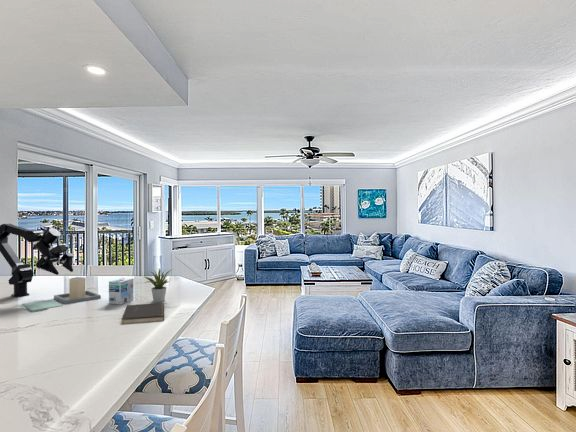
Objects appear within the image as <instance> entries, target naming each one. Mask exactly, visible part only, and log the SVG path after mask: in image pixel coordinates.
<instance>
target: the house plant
mask: <svg viewBox="0 0 576 432" xmlns="http://www.w3.org/2000/svg"><path fill="white" fill-rule="evenodd" d="M173 270H174V269H170V270H169V269H168V271H167V269H165V270H164V271H162V270H161V268H158V273H157V271H156V270H153V269H152V271H153V272H152V271H150V270H148V272H149V273H150V274H152V277H153V278H151V277H148V276H144V278H145V279H146V280H147V281H146V283H151V284H152V285H153V286H154V287H151V294H152V295H151V296H152V300H153V302H154V303H161V302H164V301H165V299H166V294H167V293H166V292H167V287H166V286H164V285H165V284H167V283H169V281H168V279H167V277H168V275H169V274H170V273H171V271H173ZM166 271H167V272H166ZM148 272H147V271H146V272H145V273H147V274H149V273H148ZM165 272H166V273H165ZM150 274H149V275H150ZM160 301H161V302H160Z"/></svg>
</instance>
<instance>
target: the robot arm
mask: <svg viewBox="0 0 576 432" xmlns="http://www.w3.org/2000/svg"><path fill="white" fill-rule="evenodd" d="M11 234H12V235H15V236H18V237H21V238H23V239H24V240H25V241H26V242H29V243H34V244H32V245H33V246H32V250H33V251H35V250H38V252H39V253H40V254H41V255H40V258H39V259H38V260H37V262H36V263H35V266H36V268H37V269H40V270H43V271H46V272H49V273H51V274H54V275H56V276H57V275H59V271H58V269H57V268H56V267H55V265H54V263H59V264H61V266H62V267H64V268H65V269H66V270H68V271H69V272H71V273H72V272H74V267H73V265H72V259H73V258H74V254H73V253H71V252H68V253H65V252H67V251H68V249H69V246H68V245H67V243H62V244H59V245H56V246H54V247H53V245H52V244H55V242H57V240H58V239H59V238H60V236H61V235H62V234H61V232H60V230H59V229H56V228H53V227H52V226H48V227H47V228H46V230H45V231H43V230H39V229H28V228H25V227H21V226H19V225H18V226H17V225H14V224H13V223H2V224H0V254H1V256H3V258H4V260H5V261H6V262H7V264H8V265H9V266H10V268H11V277H10V278H9V279H8V284H9V285H12V286H13V293H12V294H11V296H13V298H16V297H24V296H29V295H30V293H28V283H32V281H33V277H34V271H33V268H32V267H31V266H30V263H23V262H22V261H21V259H20V258H19V256H18V255H17V254H16V253H15V251H14V249H13V248H12V247H11V245H10V244H9V242H8V239H9V236H10V235H11Z"/></svg>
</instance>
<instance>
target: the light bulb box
mask: <svg viewBox="0 0 576 432" xmlns="http://www.w3.org/2000/svg"><path fill="white" fill-rule="evenodd" d="M134 280H135V279H134V278H130V277H121V278H117V279H116V278H115V279H113V280H110V281H108V304H109V305H112V304H113V305H123V304H126V303H128V302H131V301H134V294H135V293H134V287H135V286H134Z"/></svg>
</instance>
